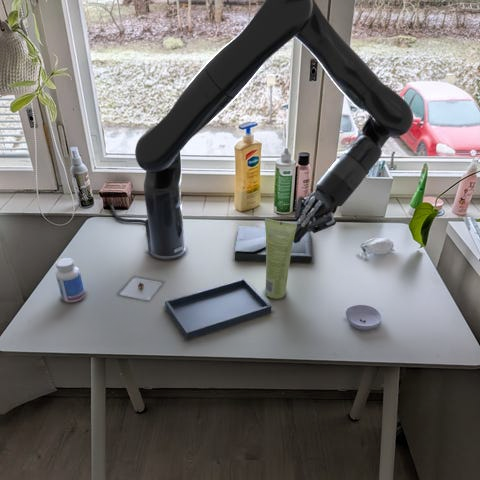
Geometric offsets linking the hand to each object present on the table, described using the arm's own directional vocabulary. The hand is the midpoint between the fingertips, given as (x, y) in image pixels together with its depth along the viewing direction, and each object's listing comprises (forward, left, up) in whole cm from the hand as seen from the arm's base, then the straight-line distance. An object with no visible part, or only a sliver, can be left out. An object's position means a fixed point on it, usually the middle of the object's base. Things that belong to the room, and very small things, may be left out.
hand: (291, 240), depth 116 cm
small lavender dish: (+20, -3, -14) cm, 25 cm away
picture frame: (-13, +17, -14) cm, 25 cm away
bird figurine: (+13, +28, -14) cm, 34 cm away
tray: (-11, -16, -14) cm, 24 cm away
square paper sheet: (-32, -18, -14) cm, 39 cm away
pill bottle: (-44, -29, -14) cm, 54 cm away
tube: (-2, -3, -14) cm, 14 cm away
